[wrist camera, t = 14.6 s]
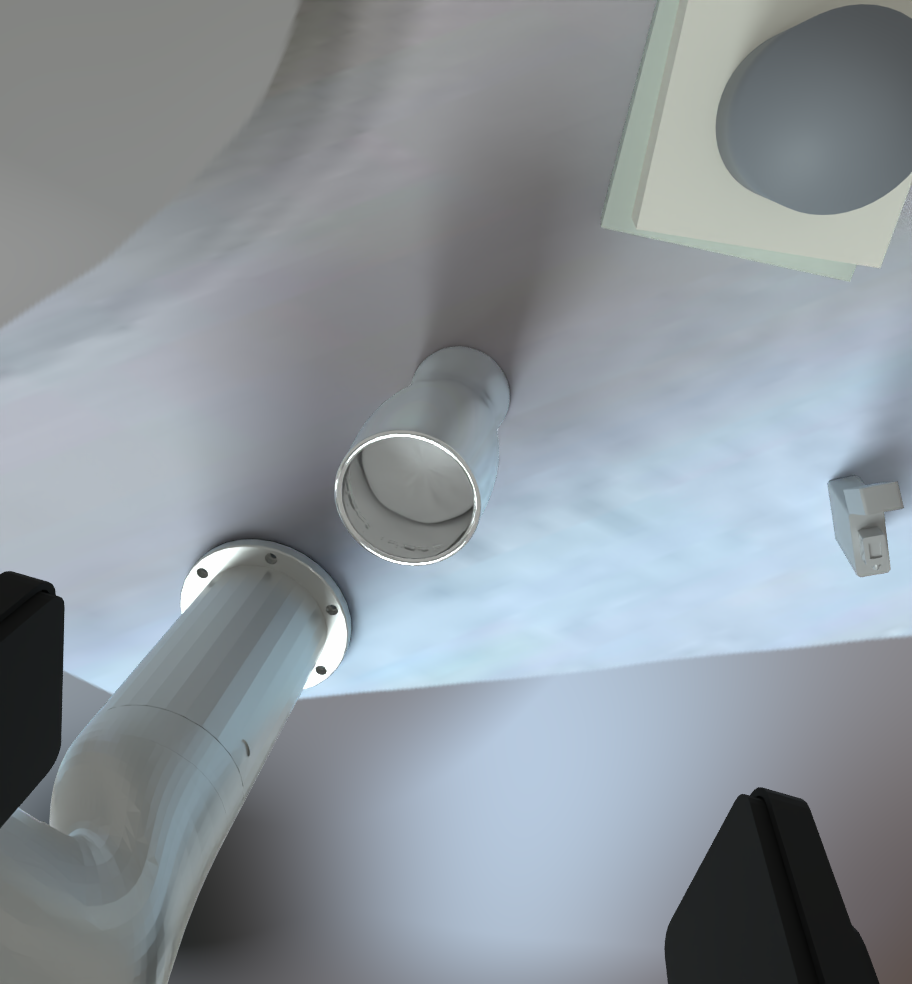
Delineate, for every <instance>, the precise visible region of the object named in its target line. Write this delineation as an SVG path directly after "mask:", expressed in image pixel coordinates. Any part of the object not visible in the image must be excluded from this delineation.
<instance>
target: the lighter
mask: <svg viewBox="0 0 912 984" xmlns="http://www.w3.org/2000/svg"><path fill="white" fill-rule="evenodd" d="M828 491H829V498H830V505H831V511H832V518H833V525H834V532H835V539H836V541H837V542H838V544H839V546H840V547H841V549H842V551H843V552H844V554H845V556H846V558H847V559H848V561H849V563H850V564H851V566H852V568H853V570H854V571H855V573H856V575H857V576H859V577H865V576H871V575H877V574H883V573H888V572H889V571H890V570H891V568H890V560H889V551H888V543H887V534H886V526H885V517H884V512H887V511H892V510H897V509H902V508H904V506H903V502H902V498H901V494H900V489H899V485H898V481H897V482H883V483H875V484H869V485H865V484H864V483H863V482H862V480H861V479H860V478H859V477H858V476H856V475H854V476H849V477H844V478H839V479H835V480H830V481H829V482H828Z"/></svg>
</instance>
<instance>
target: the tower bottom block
mask: <svg viewBox="0 0 912 984" xmlns="http://www.w3.org/2000/svg"><path fill="white" fill-rule="evenodd" d="M678 5H679V0H657V1H656V5H655V9H654V13H653V17H652V21H651V25H650V28H649V32H648V36H647V40H646V44H645V48H644V52H643V56H642V59H641V63H640V67H639V71H638V75H637V79H636V83H635V86H634V90H633V94H632V98H631V102H630V106H629V110H628V114H627V117H626V121H625V125H624V129H623V133H622V137H621V141H620V144H619V148H618V152H617V156H616V160H615V164H614V168H613V172H612V175H611V179H610V183H609V187H608V191H607V195H606V199H605V202H604V206H603V210H602V214H601V228H606V229H610V230H615V231H619V232H624V233H628V234H633V235H638V236H642V237H647V238H651V239H656V240H660V241H665V242H670V243H674V244H679V245H683V246H688V247H693V248H697V249H702V250H706V251H711V252H715V253H720V254H725V255H729V256H734V257H738V258H743V259H747V260H752V261H757V262H761V263H766V264H770V265H775V266H780V267H784V268H789V269H793V270H798V271H802V272H807V273H812V274H816V275H821V276H825V277H830V278H834V279H839V280H844V281H848V282H850V280H851V278H852V275H853V273H854V270H855V268H856V265H857V264H851V263H844V262H838V261H832V260H825V259H819V258H813V257H807V256H800V255H794V254H788V253H782V252H775V251H769V250H763V249H757V248H750V247H744V246H738V245H732V244H725V243H719V242H713V241H707V240H700V239H694V238H688V237H682V236H675V235H669V234H663V233H656V232H650V231H644V230H638V229H636V227H635V225H634V223H633V220H632V218H631V216H632V212H633V207H634V203H635V198H636V194H637V189H638V185H639V180H640V176H641V171H642V167H643V162H644V158H645V153H646V149H647V144H648V140H649V135H650V131H651V126H652V122H653V117H654V113H655V108H656V104H657V99H658V95H659V90H660V86H661V81H662V77H663V72H664V68H665V63H666V59H667V54H668V50H669V45H670V41H671V36H672V32H673V27H674V23H675V18H676V14H677V9H678Z"/></svg>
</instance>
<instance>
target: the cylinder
mask: <svg viewBox="0 0 912 984" xmlns="http://www.w3.org/2000/svg"><path fill="white" fill-rule="evenodd" d="M715 129H716V141H717V146H718V150H719V153H720V156H721V159H722V161H723V163H724V165H725V167H726V168H727V170H728V171H729V173H730V174H731V175H732V177H733V178H734V179H735V180H736V181H737V182H738V183H740V184H741V185H742V186H743V187H745V188H746V189H748V190H750V191H752V192H753V193H755V194H758V195H760V196H762V197H764V198H767V199H769V200H771V201H773V202H776V203H778V204H780V205H782V206H785V207H787V208H790V209H792V210H795V211H798V212H802V213H807V214H814V215H833V214H840V213H845V212H849V211H853V210H856V209H859V208H862V207H864V206H866V205H868V204H871V203H873V202H875V201H876V200H878V199H880V198H882V197H883V196H885V195H886V194H888V193H889V192H890V191H892V190H893V189H895V188H896V187H897V186H898V185H899V184H900V183H901V182H903V181H904V180H905V179H906V178H907V177H908V176H909V175H910V174H911V172H912V18H910V17H908V16H907V15H905V14H903V13H901V12H899V11H897V10H894V9H891V8H888V7H884V6H879V5H870V4H858V5H848V6H843V7H839V8H835V9H832V10H829V11H826V12H824V13H821V14H819V15H817V16H814V17H812V18H810V19H808V20H806V21H804V22H802V23H800V24H798V25H796V26H794V27H792V28H790V29H787V30H785V31H783V32H781V33H779V34H777V35H775V36H773V37H771V38H770V39H768V40H766V41H765V42H763V43H762V44H760V45H759V46H757V47H756V48H755V49H754V50H753V51H752V52H750V53H749V54H748V55H747V56H746V57H745V58H744V60H743V61H742V62H741V63H740V64H739V65H738V67H737V68H736V69H735V71H734V72H733V73H732V75H731V77H730V79H729V80H728V82H727V84H726V86H725V88H724V91H723V93H722V95H721V99H720V102H719V105H718V110H717V115H716V128H715Z"/></svg>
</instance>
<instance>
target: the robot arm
mask: <svg viewBox="0 0 912 984" xmlns="http://www.w3.org/2000/svg"><path fill="white" fill-rule="evenodd" d="M180 607H181V616H180V617H179V618H178V619H177V620H176V621H175V623H174V624H173V625H172V626H171V627H170V628H169V630H168V631H167V632H166V633H165V634H164V635H163V637H162V638H161V639H160V640H159V641H158V642H157V644H156V645H155V646H154V647H153V648H152V649H151V651H150V652H149V653H148V654H147V655H146V657H145V658H144V659H143V660H142V661H141V662H140V664H139V665H138V666H137V667H136V668H135V669H134V671H133V672H132V673H131V674H130V675H129V676H128V678H127V679H126V680H125V681H124V682H123V683H122V685H121V686H120V687H119V688H118V689H117V690H116V692H115V693H114V694H113V695H112V696H111V698H110V699H109V700H108V701H107V702H106V703H105V705H104V706H103V707H102V708H101V709H100V710H99V712H98V713H97V714H96V715H95V716H94V717H93V719H92V720H91V721H90V722H89V723H88V725H87V726H86V727H85V728H84V729H83V730H82V732H81V733H80V734H79V736H78V737H77V738H76V739H75V740H74V742H73V743H72V745H71V746H70V748H69V749H68V751H67V753H66V755H65V757H64V759H63V761H62V763H61V765H60V768H59V771H58V774H57V777H56V780H55V783H54V788H53V794H52V800H51V807H50V825H48V824H46V823H45V822H40V821H39V820H37V819H36V818H34V817H32V816H31V815H29V814H27V813H26V812H25V811H23V810H21V809H20V808H18V807H19V806H20V805H21V804H22V803H23V801H24V800H25V799H26V798H27V797H28V796H29V794H30V793H31V792H32V791H33V790H34V789H35V787H36V786H37V785H38V784H39V783H40V781H41V780H42V779H43V778H44V777H45V776H46V774H47V773H48V772H49V771H50V769H51V768H52V766H53V765H54V763H55V761H56V759H57V756H58V754H59V751H60V746H61V723H62V684H63V683H62V682H63V645H64V601H63V599H62V598H61V597H59V596H56V594H55V588H54V586H53V584H51V583H49V582H47V581H43V580H40V579H36V578H33V577H29V576H26V575H22V574H19V573H15V572H12V571H8V572H4V573H2V574H0V984H167V982H168V979H169V976H170V973H171V970H172V967H173V964H174V961H175V958H176V955H177V951H178V948H179V945H180V942H181V939H182V936H183V933H184V931H185V928H186V925H187V922H188V920H189V917H190V914H191V912H192V909H193V907H194V904H195V902H196V899H197V896H198V894H199V892H200V890H201V887H202V885H203V883H204V881H205V878H206V876H207V874H208V872H209V870H210V868H211V865H212V864H213V861H214V859H215V857H216V855H217V853H218V851H219V849H220V847H221V845H222V843H223V841H224V839H225V837H226V836H227V833H228V832H229V830H230V828H231V826H232V824H233V822H234V820H235V818H236V816H237V814H238V812H239V811H240V809H241V807H242V805H243V803H244V801H245V799H246V797H247V795H248V794H249V792H250V790H251V788H252V786H253V784H254V782H255V780H256V778H257V776H258V774H259V772H260V770H261V769H262V766H263V765H264V763H265V761H266V759H267V757H268V755H269V753H270V751H271V749H272V748H273V746H274V744H275V742H276V740H277V738H278V736H279V734H280V732H281V730H282V728H283V727H284V725H285V722H286V721H287V719H288V717H289V715H290V713H291V711H292V709H293V707H294V706H295V704H296V702H297V700H298V698H299V696H300V694H301V692H302V690H304V689H307V688H310V687H313V686H315V685H317V684H319V683H321V682H322V681H324V680H325V679H327V678H328V677H329V676H330V675H331V674H332V673H333V672H334V671H335V670H336V669H337V668H338V666H339V665H340V663H341V661H342V660H343V658H344V656H345V653H346V651H347V649H348V647H349V643H350V638H351V617H350V613H349V609H348V605H347V603H346V601H345V599H344V596H343V594H342V592H341V590H340V589H339V587H338V586H337V585H336V583H335V582H334V580H333V579H332V578H331V577H330V576H329V575H328V574H327V573H326V572H325V571H324V570H323V569H322V568H321V567H320V566H319V565H318V564H317V563H315V562H314V561H313V560H311V559H310V558H309V557H307V556H306V555H304V554H302V553H300V552H298V551H296V550H294V549H292V548H290V547H288V546H285V545H282V544H279V543H275V542H272V541H265V540H258V539H245V540H236V541H232V542H227V543H224V544H222V545H220V546H218V547H215V548H213V549H212V550H210V551H209V552H208V553H206V554H205V555H204V556H202V557H201V558H200V559H199V560H198V561H197V563H196V564H195V565H194V566H193V567H192V568H191V570H190V572H189V573H188V575H187V577H186V578H185V581H184V584H183V587H182V590H181V601H180ZM665 961H666V969H667V978H668V984H879V981H878V978H877V976H876V973H875V970H874V968H873V965H872V962H871V959H870V957H869V954H868V951H867V949H866V946H865V944H864V942H863V940H862V938H861V936H860V934H859V932H858V931H857V930H856V929H855V928H854V927H853V926H852V925H851V922H850V919H849V916H848V913H847V911H846V908H845V905H844V902H843V899H842V897H841V894H840V891H839V888H838V886H837V883H836V880H835V877H834V874H833V872H832V869H831V866H830V863H829V861H828V858H827V855H826V852H825V850H824V847H823V844H822V841H821V838H820V836H819V833H818V830H817V827H816V825H815V822H814V819H813V816H812V813H811V811H810V808H809V806H808V805H807V803H806V802H805V801H804V800H802V799H800V798H797V797H793V796H790V795H786V794H783V793H779V792H776V791H772V790H769V789H765V788H759V787H758V788H757V789H755V790H754V791H753V792H752V793H751V795H750V796H749V795H745V794H741V795H740V796H738V797H737V799H736V800H735V802H734V804H733V806H732V808H731V810H730V812H729V813H728V815H727V817H726V819H725V821H724V823H723V825H722V826H721V828H720V830H719V832H718V834H717V836H716V837H715V839H714V841H713V843H712V845H711V847H710V849H709V851H708V852H707V854H706V856H705V858H704V860H703V862H702V863H701V865H700V867H699V869H698V871H697V873H696V875H695V876H694V878H693V880H692V882H691V884H690V886H689V888H688V889H687V891H686V893H685V895H684V897H683V899H682V901H681V903H680V904H679V906H678V908H677V910H676V912H675V914H674V915H673V917H672V919H671V921H670V923H669V926H668V929H667V932H666V938H665Z"/></svg>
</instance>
